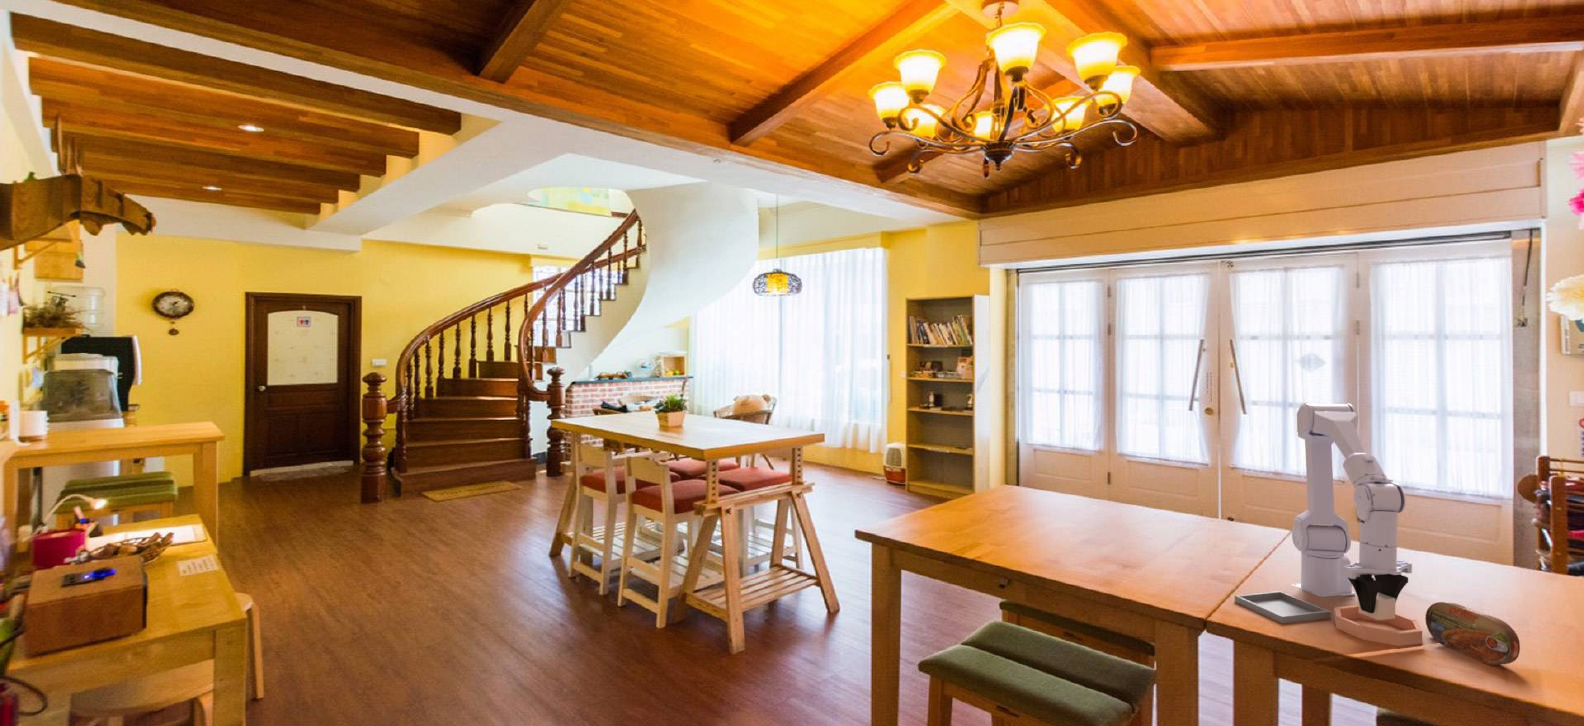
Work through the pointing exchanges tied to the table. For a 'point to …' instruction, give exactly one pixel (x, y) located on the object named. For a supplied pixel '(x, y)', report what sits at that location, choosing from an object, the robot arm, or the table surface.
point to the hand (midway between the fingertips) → (1376, 610)
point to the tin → (1473, 633)
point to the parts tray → (1282, 607)
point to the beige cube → (1382, 608)
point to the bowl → (1378, 627)
